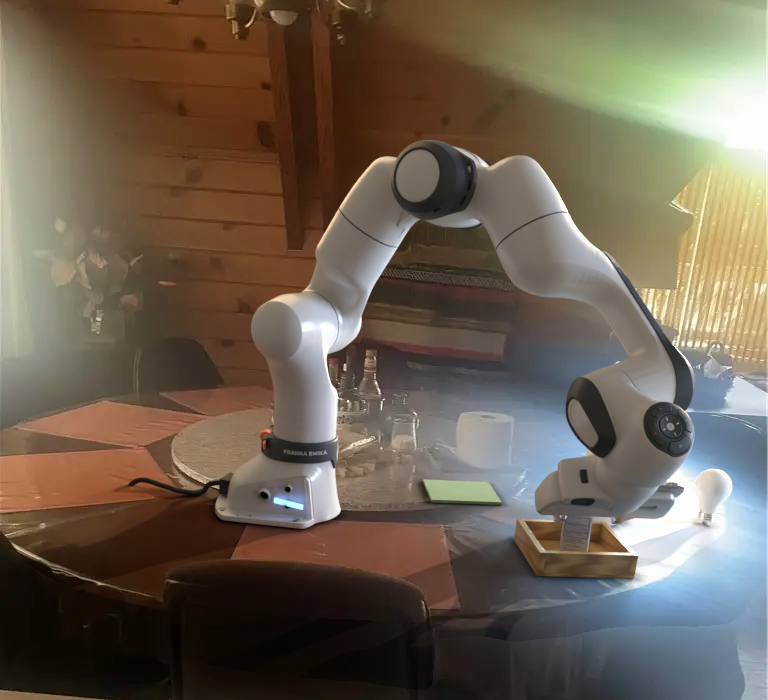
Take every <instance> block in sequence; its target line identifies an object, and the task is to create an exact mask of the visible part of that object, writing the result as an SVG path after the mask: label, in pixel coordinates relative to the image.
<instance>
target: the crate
mask: <svg viewBox="0 0 768 700" xmlns="http://www.w3.org/2000/svg"><path fill="white" fill-rule="evenodd" d="M562 526H563V522H554V520H553V519H535V518H534V519H532V518H516V523H515V529H514V538H513V540H514V542H515V544H516V545H517V547H518V549H519V550H520V552H521V553H522V555H523V556H524V558H525V560H526V561H527V563H528V564H529V566H530V567H531V569H532V570H533V572H534V574H535V575H536V576H537V577H561V578H562V577H565V578H599V579H600V578H603V579H635V575H636V569H637V565H638V559H639V555H638V554H637V552H635V550H634V549H633V548H632V547H631V546H630V545H629V544H628V543H626V541H625V540H624V539H623V538H622V537H621V536H620V535H619V534H618V533H617V532H616V531H615V530H614V529H613V528H612V527H611V525H610V526H609V525H608V524H607V523H606V522H594V521H592V526H591V532H590V539H589V546H588V552H579V551H560V540H561V533H562Z"/></svg>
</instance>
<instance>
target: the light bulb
mask: <svg viewBox="0 0 768 700" xmlns="http://www.w3.org/2000/svg"><path fill="white" fill-rule="evenodd" d="M694 491H695V494H696V497H697V499H698V509H699V512H698V516H697V518H698V520H699V521H700V522H701V523H703V524H707V525H708V524H712V523H714V522H715V518H716V514H717V513H718V511H719V508H720V506H721V505H722V504H723V503H724V502H725V501H726V500H727V499H728V498H729V497H730V495H731V494H732V491H733V482H732V479H731V477H730V476H729V475H728V473H726V472H725V471H723V470H722V469H718V468H708V469H706V470H703V471H701V472H700V473H699V474H698V476H697V477H696V478H695V481H694Z"/></svg>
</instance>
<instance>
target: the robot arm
mask: <svg viewBox="0 0 768 700" xmlns="http://www.w3.org/2000/svg"><path fill="white" fill-rule="evenodd" d="M421 220H423V221H425V222H427V223H429V224H432V225H435V226H439V227H442V228H454V229H457V230H462V231H463V230H464V231H469V230H476V229H481V228H484V229H485V230H486V233H487V234H488V236H489V238H490V239H489V240H490V241H491V243H492V246H493V248H494V250H495V252H496V255H497V257H498V259H499V262H500V265H501V266H502V268H503V270H504V272H505V275H506V276H507V277H508V279H509V280H510V281H511V282H512V283H513V285H514V286H515V287H517V288H518V289H519V290H521V291H523V292H525V293H528V294H530V295H532V296H536V297H541V298H552V299H553V298H554V299H555V298H556V299H568V300H575V301H579V302H582V303H586V304H588V305H589V306H592V307H593V308H595V309H596V310H597V311H598V312H599V313H600V314H601V315H602V316H603V318H604V320H605V321H606V323H607V324H608V326H609V327H610V329H611V330H612V332H613V333H614V335H615V337H616V339H618V342H619V343H620V344H621V346H622V347H623V349H624V350H625V352H626V354H627V356H628V358H627V359H624V360H621V361H617V362H618V363H616V362H615V363H616V364H614V363H613V364H610V365H608V366H604V367H601V368H598V369H595V370H593V371H591V372H588V373H586V374H584V375H581V376H579V377H576V378H574V380H573V381H572V382H571V384H570V386H569V388H568V391H567V393H566V398H565V399H566V400H565V418H566V423H567V425H568V427H569V428H570V430H571V432H572V433H573V435H574V436H575V438H576V439H577V440H578V441H579V442H580V443H581V444H582V446H584V447H585V448H586V450H587V449H589V450H590V451H591V452H592V453H593V454H592V455H588V456H586V455H585V456H578V457H568V458H563V459H561V460H560V461H559V462H558V463H557V470H554V471H552V472H550V473H549V474H548V475H546V476H545V477H544V478H543V480H541V482H540V484H539V485H538V486H537V487H536V489H535V491H534V506H535V509H536V513H538V514H539V515H540V516H552V520H554V522H564V521H565V520H566V516H587V517H610V519H611V524H617V525H622V524H623V523H624V522H627V521H630V520H634V519H641V520H642V519H643V520H644V519H645V520H657V519H660V518H661V519H662V518H663V517H665V516H666V515H667V514H668V513H669V512H670V510H671V509H672V508H673V506H674V505H675V502H676V498H678V497H679V496H680V495H682V494H683V493H684V492H685V486H684V485H683V484H680V483H679V482H678V481H670V479H671V478H672V477H673V476H674V475H675V474H676V473H677V471H678V470H679V469H680V468H681V467H682V465H683V464H684V463H685V461H686V460H687V458H688V457H689V455H690V454H691V451H692V449H693V446H694V442H695V435H696V434H695V426H694V423H693V420H692V419H691V417H690V416H689V414H688V413H687V412H686V411H687V410H688V409H689V407H690V405H691V404H692V401H693V398H694V395H695V391H696V374H695V372H694V369H693V367H692V365H691V363H690V362H689V360H688V359H687V358H686V357H685V356H684V354H683V353H682V352H681V351H680V350H679V349H678V347H676V346H675V345H674V344H673V342H672V341H671V340H670V339H669V338H668V337H667V335H666V333H665V332H664V331H663V329H662V328H661V326H660V325H659V323H658V322H657V320H656V318H655V317H654V315H653V313H652V312H651V311H650V309H649V308H648V306H647V304H646V302H645V301H644V300H643V298H642V297H641V296H640V294H639V291H638V290H637V289H636V287H635V286H634V284H633V283H632V282H631V279H630V278H629V277H628V275H627V274H626V273H625V271H624V270H623V268H622V267H621V266H620V264H619V263H618V262H617V261H616V259H615V258H614V257H613V256H612V255H610V253H609V252H607V251H604V250H602V249H599V248H598V247H596V246H595V245H593V243H591V242H590V241H589V240H588V239H587V238H586V236H585V235H584V234H583V233H582V232H581V231H580V230H579V229H578V227H577V226H576V223H574V221H573V219H572V216H571V215H570V213H569V211H568V209H567V207H566V205H565V203H564V201H563V200H562V197H561V196H560V193H559V191H558V190H557V188H556V187H555V185H554V184H553V182H552V180H551V179H550V177H549V176H548V174H546V172H545V170H544V169H543V168H542V167H541V165H540V164H539V162H537V160H535V159H534V158H533V157H530V156H528V155H520V154H519V155H517V154H516V155H511V156H507V157H505V158H502V159H500V160H498V161H497V162H495V163H494V164H491V163H490V162H488V161H487V160H485V159H483V158H481V157H479V156H478V155H477V154H475V153H473V152H471V150H468V149H466V148H462V147H458V146H453V145H451V144H450V143H447V142H445V141H441V140H438V139H437V140H436V139H422V140H418V141H415V142H413V143H410V144H409V145H407V146H406V147H405V148H404V149H402V151H400V153H399V154H398V156H397V157H396V156H389V155H388V156H387V155H386V156H385V155H384V156H380V157H379V158H376V159H374V161H372V162H371V164H370V165H369V166H368V167H366V169H365V170H364V172H362V174H361V175H360V177H358V179H357V180H356V182H355V183H354V184H353V186H351V188H350V190H349V191H348V193H347V194H346V196H345V197H344V199H343V201H342V202H341V204H340V205H339V207H338V209H337V211H336V212H335V214H334V216H333V217H332V219H331V221H330V222H329V224H328V226H327V228H326V230H325V231H324V233H323V235H322V237H321V238H320V239H319V242H318V243H317V245H316V248H315V250H314V251H315V252H314V255H315V260H316V262H315V267H314V270H313V274H312V276H311V279H310V282H309V284H308V285H307V287H305V288H304V289H303V290H302V291H301V292H292V293H283V294H280V295H277V296H275V297H273V298H271V299H269V300H267V301H266V302H263V304H261V305H260V306H259V307H258V308H257V309H256V310H255V312H254V314H253V316H252V319H251V323H250V332H251V338H252V341H253V344H254V346H255V347H256V349H257V350H258V351H259V352H260V354H261V355H262V356H263V357H264V359H265V360H266V363H267V366H268V370H269V373H270V377H271V382H272V389H273V429H272V430H273V431H271V430H270V429H269V428H264V429H262V431H260V434H259V438H260V440H261V443H260V450H261V452H259V453H258V454H257V455H255V456H254V457H252V458H251V459H249V460H247V461H246V462H244V463H243V464H242V465H240V466H238V467H237V468H236V470H235V471H234V472H229V473H227V474H225V475H224V476H222V477H220V478H219V479H214V480H210V481H207V482H206V483H205V484H204V485H203V487H202V488H201V489H197V490H192V489H186V488H181V487H180V488H179V487H176V486H174V485H171V484H168V483H164V482H161V481H159V480H156V479H153V478H149V477H146V476H145V477H144V476H143V477H141V476H140V477H136V478H133V479H132V480H130V481H129V483H127V486H128V487H134V486H135V485H137V484H140V483H144V484H149V485H151V486H154V487H157V488H161V489H164V490H167V491H170V492H172V493H175V494H179V495H185V496H189V497H190V496H191V497H198V496H202V495H205V494H206V493H207V492H208V491H209V488H212V487H213V486H218V496H217V499H216V501H215V505H214V512H215V515H216V516H217V517H218V518H219V520H222V521H228V522H235V523H236V522H237V523H245V524H252V525H253V524H254V525H262V526H273V527H281V528H282V527H283V528H291V529H299V530H300V529H301V530H302V529H307V528H310V527H312V526H313V525H315V524H318V523H322V522H326V521H329V520H332V519H334V518H336V517H338V515H340V513H341V505H340V501H339V497H338V488H337V479H336V478H337V477H336V467H337V466H338V465H337V464H338V461H339V460H338V458H339V436H338V435H337V424H338V405H339V404H338V403H339V395H338V391H337V389H336V387H335V386H333V384H332V382H331V379H330V374H329V368H328V362H327V361H328V359H327V358H328V355H329V354H333V353H336V352H339V351H341V350H343V349H344V348H346V347H347V346H348V345H350V343H352V342H353V341H354V340H355V339H356V338H357V337H358V335H359V333H360V331H361V328H362V315H363V313H364V310H365V308H366V306H367V303H368V300H369V297H370V295H371V293H372V290H373V288H374V287H375V285H376V283H377V281H378V280H379V278H380V277H381V275H382V273H383V272H384V270H385V269H386V267H387V265H388V264H389V262H390V261H391V260H392V257H394V254H395V253H396V251H397V250H398V248H399V246H401V243H402V242H403V240H404V238H405V236H406V235H407V233H408V232H409V231H410V229H411V228H412V227H413V226H414V225H415V223H417V222H419V221H421Z"/></svg>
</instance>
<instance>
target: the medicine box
mask: <svg viewBox="0 0 768 700" xmlns="http://www.w3.org/2000/svg"><path fill="white" fill-rule="evenodd" d="M592 518H593V517H587V516H566V520H565V521H564V522H563V526H562V533H561V540H560V551H579V552H588V546H589V539H590V532H591V526H592Z"/></svg>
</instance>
